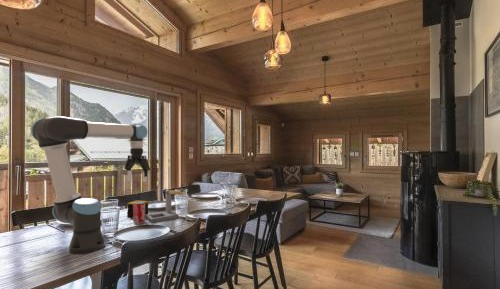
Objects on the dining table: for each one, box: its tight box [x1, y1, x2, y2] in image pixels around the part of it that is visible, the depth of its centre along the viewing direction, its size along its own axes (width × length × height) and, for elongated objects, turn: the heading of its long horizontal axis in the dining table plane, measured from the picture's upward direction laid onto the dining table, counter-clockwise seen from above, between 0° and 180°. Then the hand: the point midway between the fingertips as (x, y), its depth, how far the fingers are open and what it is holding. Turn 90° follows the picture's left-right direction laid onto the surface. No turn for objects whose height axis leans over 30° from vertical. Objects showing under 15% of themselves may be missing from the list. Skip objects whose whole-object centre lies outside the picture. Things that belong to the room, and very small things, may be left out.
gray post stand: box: [145, 193, 179, 223], centre depth 187 cm, size 18×14×15 cm
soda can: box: [132, 202, 147, 225], centre depth 176 cm, size 7×7×13 cm
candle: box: [126, 200, 149, 219], centre depth 192 cm, size 10×10×10 cm
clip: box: [165, 188, 186, 196], centre depth 191 cm, size 15×4×3 cm, turn 67°
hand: (137, 181), depth 176 cm, fingers open, 13 cm apart
